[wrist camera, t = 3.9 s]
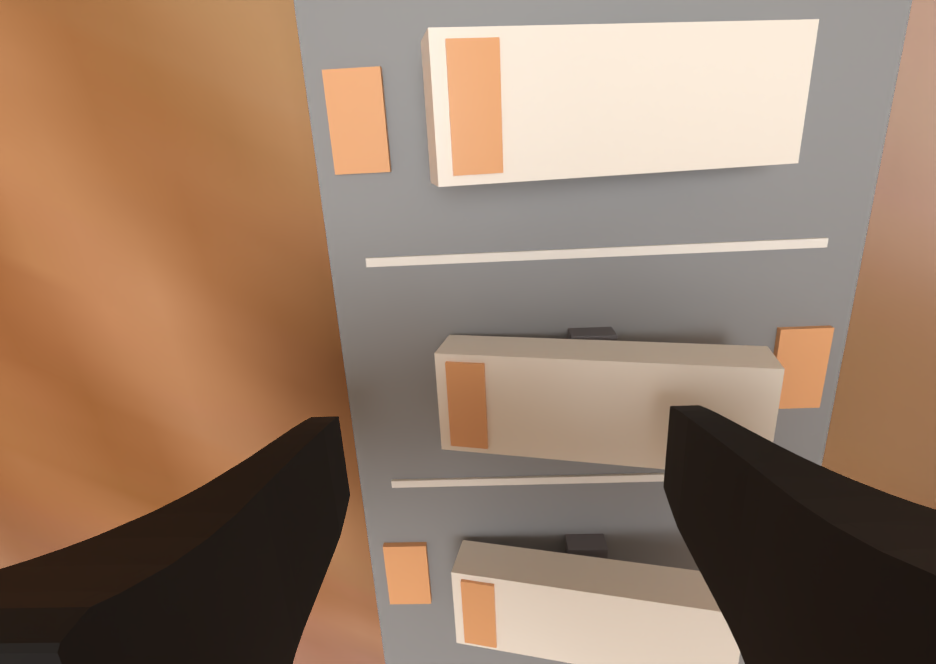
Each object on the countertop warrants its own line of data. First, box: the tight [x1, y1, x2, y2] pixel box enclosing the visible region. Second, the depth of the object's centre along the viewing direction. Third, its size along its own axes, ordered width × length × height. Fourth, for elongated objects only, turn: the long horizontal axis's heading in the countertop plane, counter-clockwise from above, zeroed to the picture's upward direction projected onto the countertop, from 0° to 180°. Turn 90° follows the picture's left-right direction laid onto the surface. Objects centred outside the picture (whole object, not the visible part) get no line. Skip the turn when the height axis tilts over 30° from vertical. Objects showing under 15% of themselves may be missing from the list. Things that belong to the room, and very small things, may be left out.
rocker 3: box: [451, 540, 740, 664], centre depth 16 cm, size 8×3×2 cm, turn 93°
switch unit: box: [294, 0, 912, 664], centre depth 16 cm, size 14×24×3 cm, turn 3°
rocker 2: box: [434, 335, 785, 469], centre depth 14 cm, size 8×3×2 cm, turn 93°
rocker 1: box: [421, 19, 819, 187], centre depth 11 cm, size 8×3×2 cm, turn 93°
